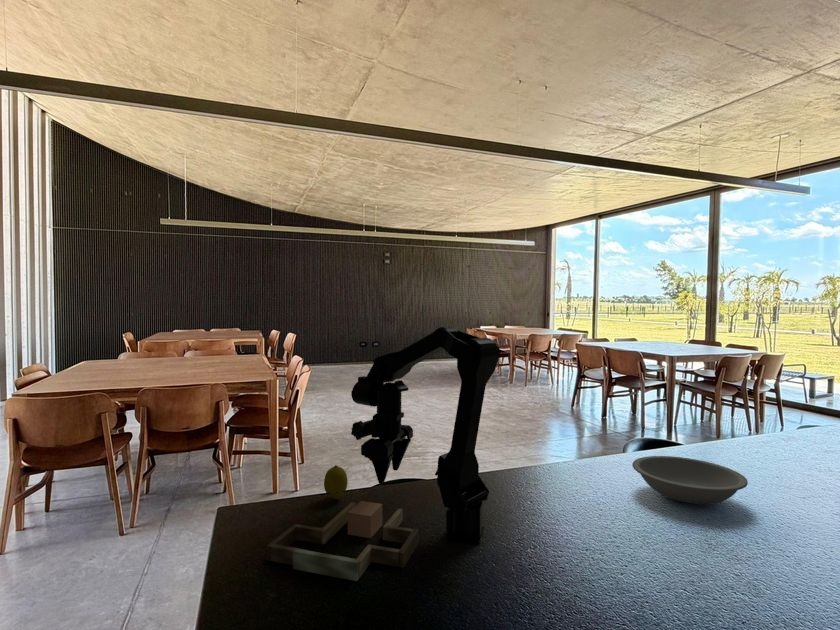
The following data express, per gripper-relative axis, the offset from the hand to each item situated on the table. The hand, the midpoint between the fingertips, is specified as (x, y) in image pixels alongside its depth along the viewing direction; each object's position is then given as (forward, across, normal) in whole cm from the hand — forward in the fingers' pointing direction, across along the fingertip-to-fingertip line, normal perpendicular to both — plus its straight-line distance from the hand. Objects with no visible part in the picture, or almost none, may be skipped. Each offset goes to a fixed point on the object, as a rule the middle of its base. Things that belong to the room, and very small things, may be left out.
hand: (388, 476), depth 103 cm
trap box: (+6, +18, 0) cm, 19 cm away
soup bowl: (+7, -26, +68) cm, 73 cm away
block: (+7, +13, 0) cm, 14 cm away
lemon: (+7, +1, -13) cm, 15 cm away
